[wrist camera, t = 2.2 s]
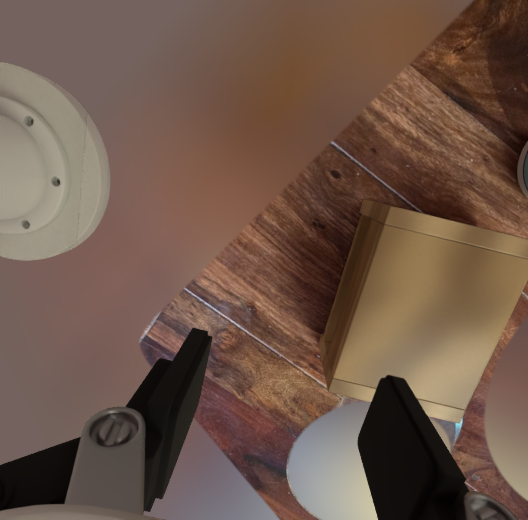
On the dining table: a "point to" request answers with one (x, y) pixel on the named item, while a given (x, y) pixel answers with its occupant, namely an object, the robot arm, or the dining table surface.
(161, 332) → the dining table surface
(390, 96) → the dining table surface
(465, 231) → the gold flanged block
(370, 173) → the dining table surface
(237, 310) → the dining table surface
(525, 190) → the beverage can
